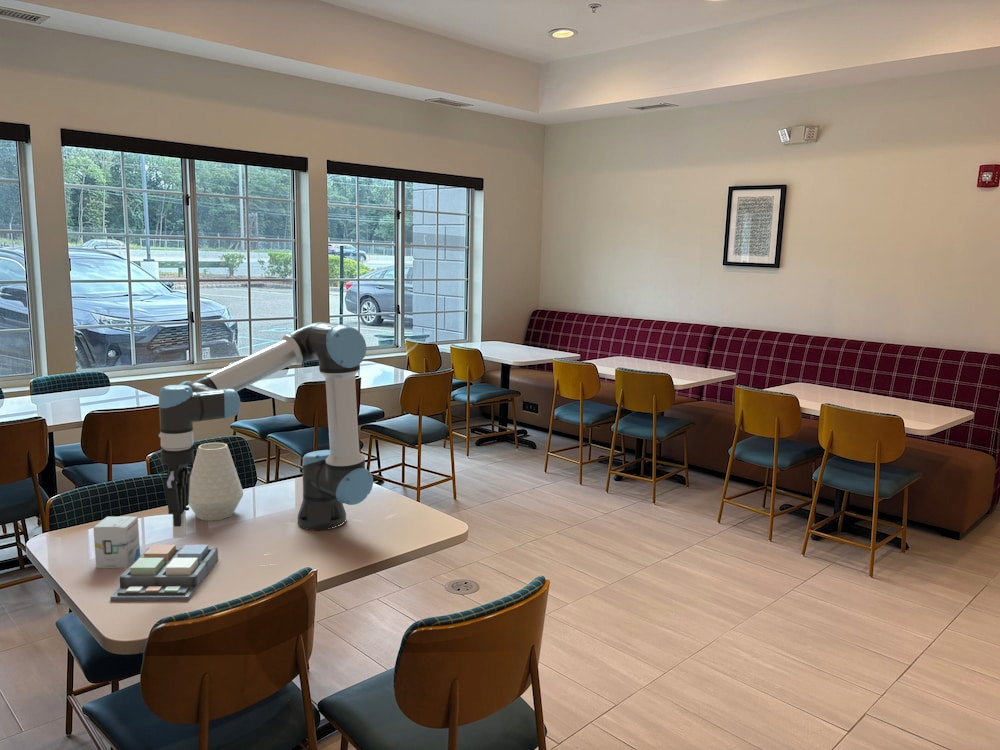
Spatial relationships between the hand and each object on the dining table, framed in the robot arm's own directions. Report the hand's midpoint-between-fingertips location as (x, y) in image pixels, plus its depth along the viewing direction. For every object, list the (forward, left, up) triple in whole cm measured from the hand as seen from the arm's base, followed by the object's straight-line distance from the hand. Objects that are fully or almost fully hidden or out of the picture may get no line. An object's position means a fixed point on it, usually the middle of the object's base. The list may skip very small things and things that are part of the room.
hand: (179, 536), depth 185 cm
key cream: (0, 0, -10) cm, 10 cm away
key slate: (0, -9, -10) cm, 13 cm away
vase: (+6, -49, -13) cm, 51 cm away
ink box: (+21, -13, -13) cm, 28 cm away
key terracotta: (+8, -9, -10) cm, 16 cm away
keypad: (+4, -2, -12) cm, 13 cm away
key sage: (+8, 0, -10) cm, 13 cm away
